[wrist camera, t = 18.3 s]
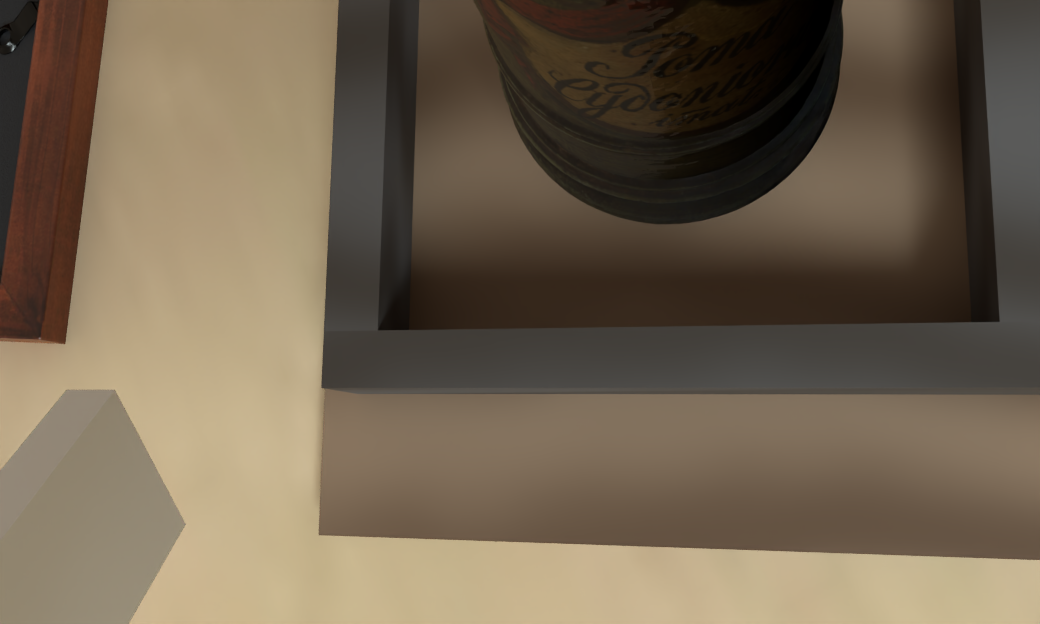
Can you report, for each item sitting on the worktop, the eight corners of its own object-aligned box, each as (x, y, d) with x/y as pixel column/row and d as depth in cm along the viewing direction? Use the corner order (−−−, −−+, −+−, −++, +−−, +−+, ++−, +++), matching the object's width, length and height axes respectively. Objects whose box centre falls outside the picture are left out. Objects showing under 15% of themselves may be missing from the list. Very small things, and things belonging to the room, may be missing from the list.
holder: (1079, 556, 24) (1142, 574, 20) (335, 531, 28) (278, 543, 24) (1015, -358, 28) (1058, -479, 24) (368, -260, 32) (323, -350, 28)
